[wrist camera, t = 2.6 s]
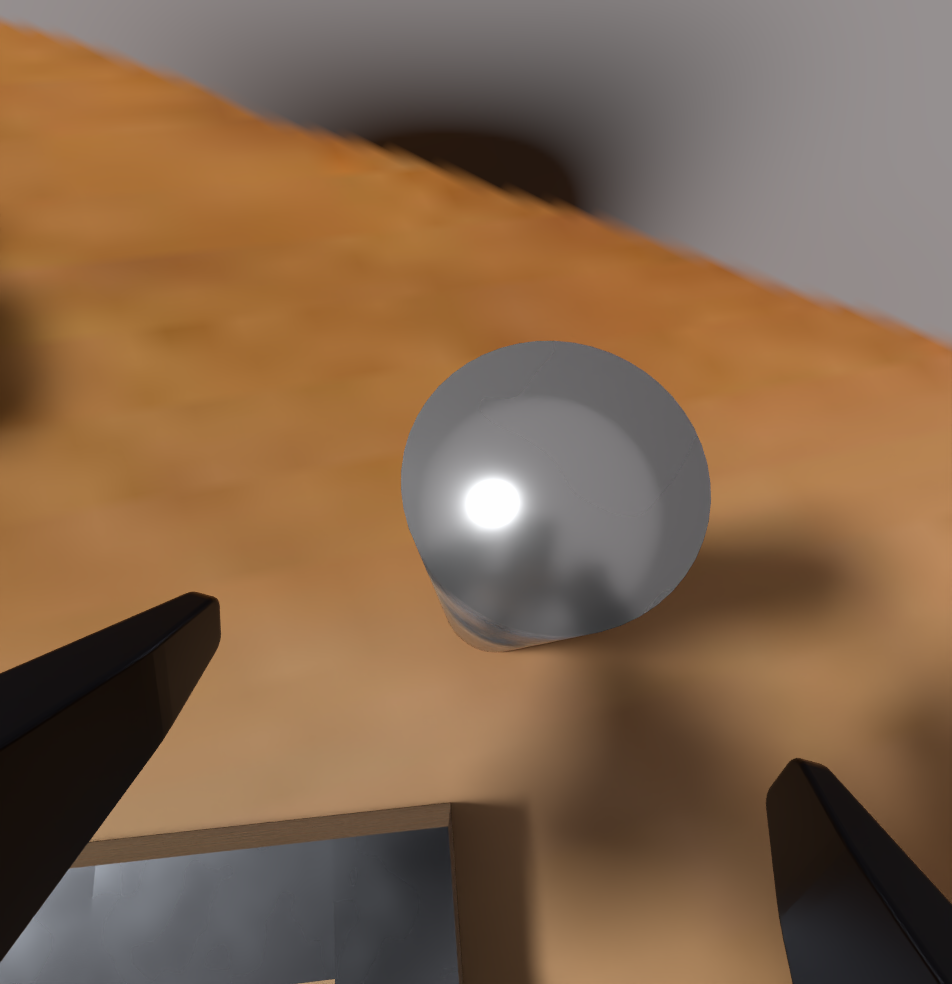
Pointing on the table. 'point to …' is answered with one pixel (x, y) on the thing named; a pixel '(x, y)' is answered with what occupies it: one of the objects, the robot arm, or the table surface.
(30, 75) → the table surface
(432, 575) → the axle
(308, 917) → the block
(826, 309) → the table surface
